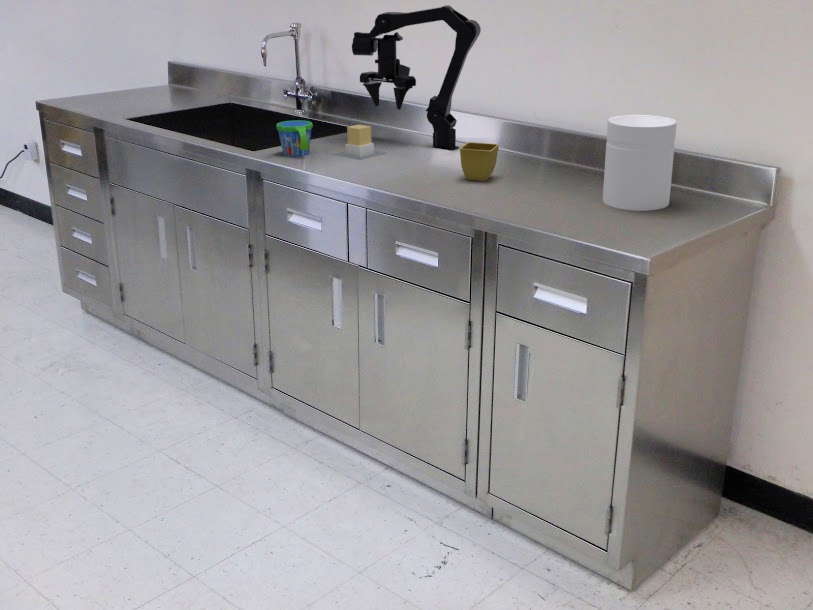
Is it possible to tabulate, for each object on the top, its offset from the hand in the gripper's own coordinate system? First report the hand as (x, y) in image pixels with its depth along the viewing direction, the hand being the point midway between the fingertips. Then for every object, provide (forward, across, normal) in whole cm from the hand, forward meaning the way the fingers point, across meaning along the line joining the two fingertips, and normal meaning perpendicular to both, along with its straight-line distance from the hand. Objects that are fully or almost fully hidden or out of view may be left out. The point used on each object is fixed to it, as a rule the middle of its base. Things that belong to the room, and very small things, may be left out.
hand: (388, 107), depth 291 cm
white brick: (+11, -3, +16) cm, 20 cm away
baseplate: (+12, -3, +16) cm, 20 cm away
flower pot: (+12, -47, +15) cm, 51 cm away
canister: (+12, -91, +9) cm, 92 cm away
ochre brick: (+8, -3, +16) cm, 18 cm away
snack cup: (+12, +12, +28) cm, 33 cm away
